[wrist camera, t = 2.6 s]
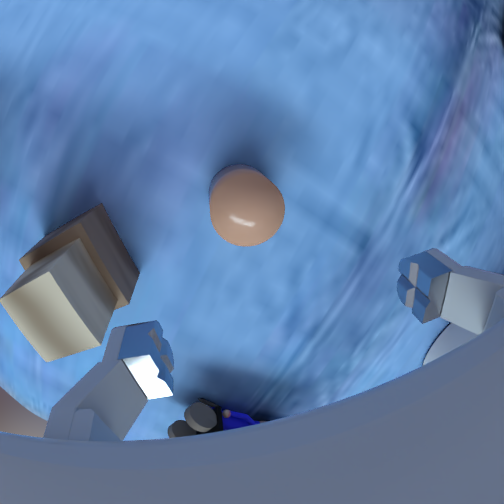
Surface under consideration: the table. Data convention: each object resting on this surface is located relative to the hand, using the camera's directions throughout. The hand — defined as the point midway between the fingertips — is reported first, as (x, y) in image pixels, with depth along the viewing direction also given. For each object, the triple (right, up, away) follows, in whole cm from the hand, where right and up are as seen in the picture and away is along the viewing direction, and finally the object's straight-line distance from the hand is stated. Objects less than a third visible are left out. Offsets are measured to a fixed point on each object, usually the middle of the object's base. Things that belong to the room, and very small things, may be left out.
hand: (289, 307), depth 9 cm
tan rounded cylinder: (-2, +6, +14) cm, 16 cm away
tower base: (-15, +2, +14) cm, 21 cm away
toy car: (-4, -20, +26) cm, 33 cm away
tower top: (-15, -1, +10) cm, 18 cm away
